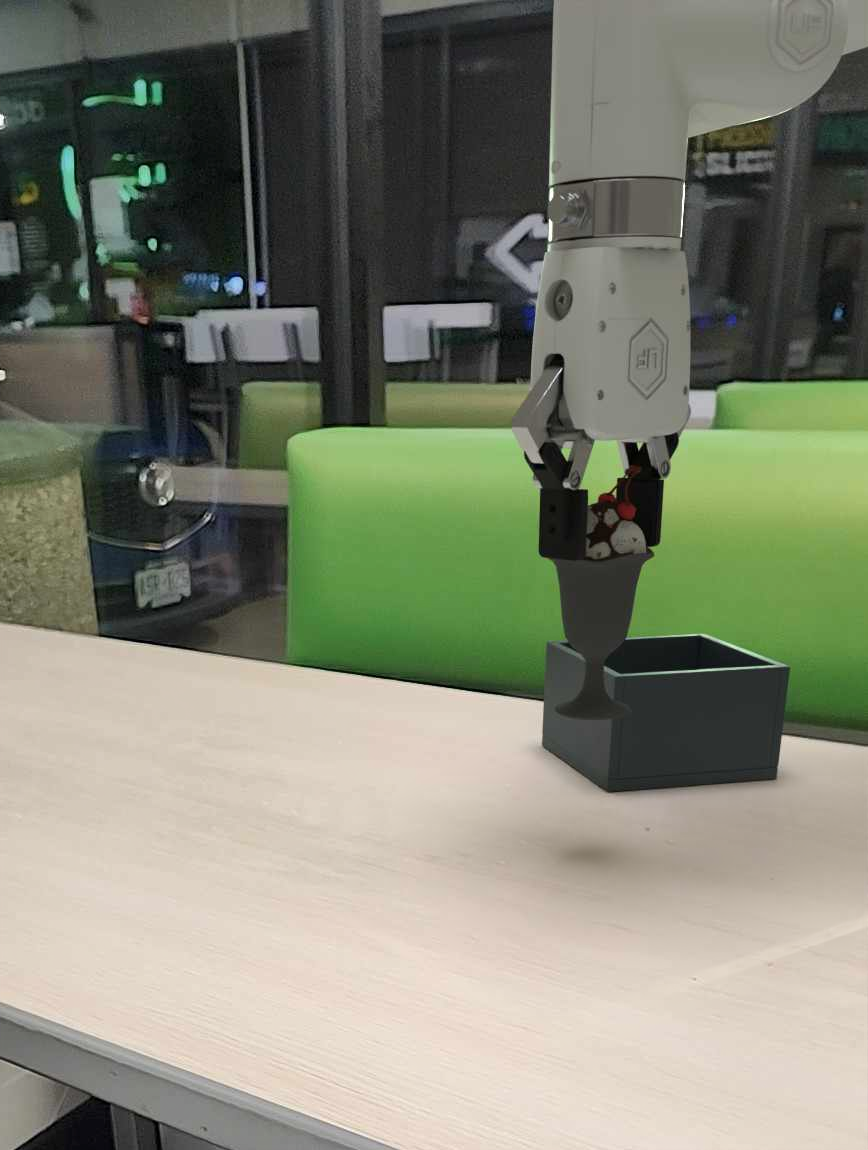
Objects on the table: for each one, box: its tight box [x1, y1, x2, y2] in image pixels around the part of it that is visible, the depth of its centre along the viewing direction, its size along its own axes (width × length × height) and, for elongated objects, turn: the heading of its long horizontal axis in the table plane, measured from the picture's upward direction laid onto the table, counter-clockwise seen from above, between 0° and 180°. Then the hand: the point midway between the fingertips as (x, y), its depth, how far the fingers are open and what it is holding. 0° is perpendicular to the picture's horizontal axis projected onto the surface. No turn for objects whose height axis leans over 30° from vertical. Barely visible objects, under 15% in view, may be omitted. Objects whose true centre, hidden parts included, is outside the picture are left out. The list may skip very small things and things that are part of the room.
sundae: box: [547, 465, 655, 720], centre depth 83 cm, size 7×7×15 cm
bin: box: [541, 633, 791, 793], centre depth 109 cm, size 15×15×9 cm
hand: (600, 549), depth 82 cm, fingers closed on sundae, 6 cm apart
